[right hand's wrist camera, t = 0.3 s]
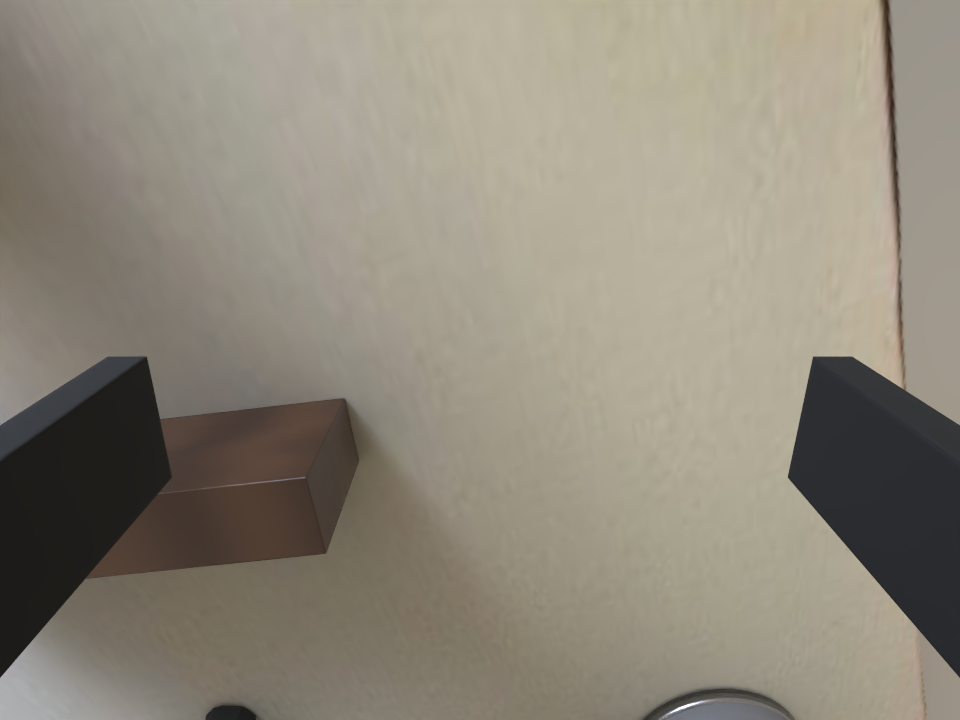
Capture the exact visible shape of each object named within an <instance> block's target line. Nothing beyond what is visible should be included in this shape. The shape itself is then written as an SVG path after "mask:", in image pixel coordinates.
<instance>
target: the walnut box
mask: <svg viewBox="0 0 960 720" xmlns="http://www.w3.org/2000/svg"><path fill="white" fill-rule="evenodd" d="M160 422H161V427H162V431H163V436H164V441H165V446H166V450H167V455H168V460H169V465H170V469H171V474H172V478H171V479H170V481H169V482H168V483H167V484H166V485H165V486H164V488H163V489H162V490H161V491H160V492H159V493H158V495H157V496H156V497H155V498H154V499H153V500H152V501H151V503H150V504H149V505H148V506H147V507H146V508H145V510H144V511H143V512H142V513H141V514H140V515H139V517H138V518H137V519H136V520H135V521H134V522H133V524H132V525H131V526H130V527H129V528H128V529H127V531H126V532H125V533H124V534H123V535H122V536H121V538H120V539H119V540H118V541H117V542H116V543H115V545H114V546H113V547H112V548H111V549H110V550H109V552H108V553H107V554H106V555H105V556H104V557H103V559H102V560H101V561H100V562H99V563H98V564H97V566H96V567H95V568H94V569H93V570H92V571H91V573H90V574H89V575H88V576H87V577H86V578H85V579H87V578H96V577H106V576H116V575H125V574H135V573H144V572H154V571H164V570H173V569H183V568H193V567H202V566H212V565H222V564H231V563H241V562H250V561H260V560H270V559H279V558H289V557H299V556H308V555H318V554H326V552H327V550H328V547H329V544H330V541H331V538H332V535H333V533H334V530H335V527H336V524H337V521H338V518H339V516H340V513H341V510H342V507H343V504H344V502H345V499H346V496H347V493H348V490H349V487H350V485H351V482H352V479H353V476H354V473H355V471H356V468H357V465H358V462H359V460H358V455H357V451H356V447H355V442H354V438H353V433H352V429H351V424H350V420H349V416H348V411H347V407H346V402H345V399H344V398H342V399H334V400H325V401H316V402H308V403H299V404H290V405H282V406H273V407H264V408H256V409H247V410H238V411H230V412H221V413H212V414H204V415H195V416H186V417H178V418H169V419H160Z"/></svg>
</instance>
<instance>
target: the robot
mask: <svg viewBox="0 0 960 720" xmlns="http://www.w3.org/2000/svg"><path fill="white" fill-rule="evenodd" d="M206 720H256V716H255V715H253V714H252V713H250V712H249V711H248V710H246V709H245V708H243V707H234V706H221V707H217V708H214V709H213V710H211V711H210V712H209V713H208V714H207V715H206Z"/></svg>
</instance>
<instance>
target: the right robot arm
mask: <svg viewBox="0 0 960 720" xmlns="http://www.w3.org/2000/svg"><path fill="white" fill-rule="evenodd" d="M171 478H172V474H171V469H170V465H169V460H168V455H167V450H166V446H165V441H164V436H163V431H162V427H161V422H160V417H159V412H158V408H157V403H156V398H155V393H154V389H153V384H152V379H151V374H150V370H149V365H148V360H147V357H107V358H105V359H104V360H102V361H100V362H99V363H97V364H96V365H94V366H93V367H91V368H89V369H88V370H86V371H85V372H83V373H82V374H80V375H78V376H77V377H75V378H74V379H72V380H71V381H69V382H68V383H66V384H64V385H63V386H61V387H60V388H58V389H57V390H55V391H53V392H52V393H50V394H49V395H47V396H46V397H44V398H42V399H41V400H39V401H38V402H36V403H35V404H33V405H32V406H30V407H28V408H27V409H25V410H24V411H22V412H21V413H19V414H17V415H16V416H14V417H13V418H11V419H10V420H8V421H6V422H5V423H3V424H2V425H0V677H1V676H2V675H3V674H4V673H5V671H6V670H7V669H8V668H9V667H10V666H11V664H12V663H13V662H14V661H15V660H16V659H17V657H18V656H19V655H20V654H21V653H22V652H23V651H24V649H25V648H26V647H27V646H28V645H29V644H30V642H31V641H32V640H33V639H34V638H35V637H36V635H37V634H38V633H39V632H40V631H41V630H42V628H43V627H44V626H45V625H46V624H47V623H48V621H49V620H50V619H51V618H52V617H53V616H54V614H55V613H56V612H57V611H58V610H59V609H60V607H61V606H62V605H63V604H64V603H65V602H66V600H67V599H68V598H69V597H70V596H71V595H72V593H73V592H74V591H75V590H76V589H77V588H78V586H79V585H80V584H81V583H82V582H83V581H84V579H85V578H86V577H87V576H88V575H89V574H90V573H91V571H92V570H93V569H94V568H95V567H96V566H97V564H98V563H99V562H100V561H101V560H102V559H103V557H104V556H105V555H106V554H107V553H108V552H109V550H110V549H111V548H112V547H113V546H114V545H115V543H116V542H117V541H118V540H119V539H120V538H121V536H122V535H123V534H124V533H125V532H126V531H127V529H128V528H129V527H130V526H131V525H132V524H133V522H134V521H135V520H136V519H137V518H138V517H139V515H140V514H141V513H142V512H143V511H144V510H145V508H146V507H147V506H148V505H149V504H150V503H151V501H152V500H153V499H154V498H155V497H156V496H157V495H158V493H159V492H160V491H161V490H162V489H163V488H164V486H165V485H166V484H167V483H168V482H169V481H170V479H171ZM788 478H789V479H790V481H791V482H792V483H793V484H794V485H795V486H796V488H797V489H798V490H799V491H800V492H801V493H802V495H803V496H804V497H805V498H806V499H807V500H808V501H809V503H810V504H811V505H812V506H813V507H814V508H815V510H816V511H817V512H818V513H819V514H820V515H821V517H822V518H823V519H824V520H825V521H826V522H827V524H828V525H829V526H830V527H831V528H832V529H833V531H834V532H835V533H836V534H837V535H838V536H839V538H840V539H841V540H842V541H843V542H844V543H845V545H846V546H847V547H848V548H849V549H850V550H851V552H852V553H853V554H854V555H855V556H856V557H857V559H858V560H859V561H860V562H861V563H862V564H863V566H864V567H865V568H866V569H867V570H868V571H869V573H870V574H871V575H872V576H873V577H874V578H875V579H876V581H877V582H878V583H879V584H880V585H881V586H882V588H883V589H884V590H885V591H886V592H887V593H888V595H889V596H890V597H891V598H892V599H893V600H894V602H895V603H896V604H897V605H898V606H899V607H900V609H901V610H902V611H903V612H904V613H905V614H906V616H907V617H908V618H909V619H910V620H911V621H912V623H913V624H914V625H915V626H916V627H917V628H918V630H919V631H920V632H921V633H922V634H923V635H924V636H925V638H926V639H927V640H928V641H929V642H930V644H931V645H932V646H933V647H934V648H935V649H936V651H937V652H938V653H939V654H940V655H941V656H942V657H943V659H944V660H945V661H946V662H947V663H948V664H949V666H950V667H951V668H952V669H953V670H954V671H955V673H956V674H957V675H958V676H959V677H960V425H958V424H957V423H955V422H954V421H952V420H950V419H949V418H947V417H946V416H944V415H943V414H941V413H939V412H938V411H936V410H935V409H933V408H932V407H930V406H928V405H927V404H925V403H924V402H922V401H921V400H919V399H918V398H916V397H914V396H913V395H911V394H910V393H908V392H907V391H905V390H903V389H902V388H900V387H899V386H897V385H896V384H894V383H892V382H891V381H889V380H888V379H886V378H885V377H883V376H882V375H880V374H878V373H877V372H875V371H874V370H872V369H871V368H869V367H867V366H866V365H864V364H863V363H861V362H860V361H858V360H856V359H855V358H853V357H813V360H812V365H811V370H810V374H809V379H808V384H807V389H806V393H805V398H804V403H803V408H802V412H801V417H800V422H799V427H798V431H797V436H796V441H795V446H794V450H793V455H792V460H791V465H790V469H789V474H788ZM644 720H794V719H793V717H792V716H791V715H790V713H789V712H788V711H787V710H786V709H784V708H783V707H782V706H781V705H779V704H778V703H776V702H775V701H773V700H771V699H769V698H767V697H765V696H762V695H759V694H756V693H752V692H748V691H742V690H732V689H718V690H707V691H701V692H696V693H692V694H689V695H685V696H682V697H680V698H677V699H675V700H672V701H670V702H668V703H666V704H664V705H662V706H661V707H659V708H658V709H656V710H655V711H653V712H652V713H651V714H649V715H648V716H647V717H646V718H645V719H644Z"/></svg>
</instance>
